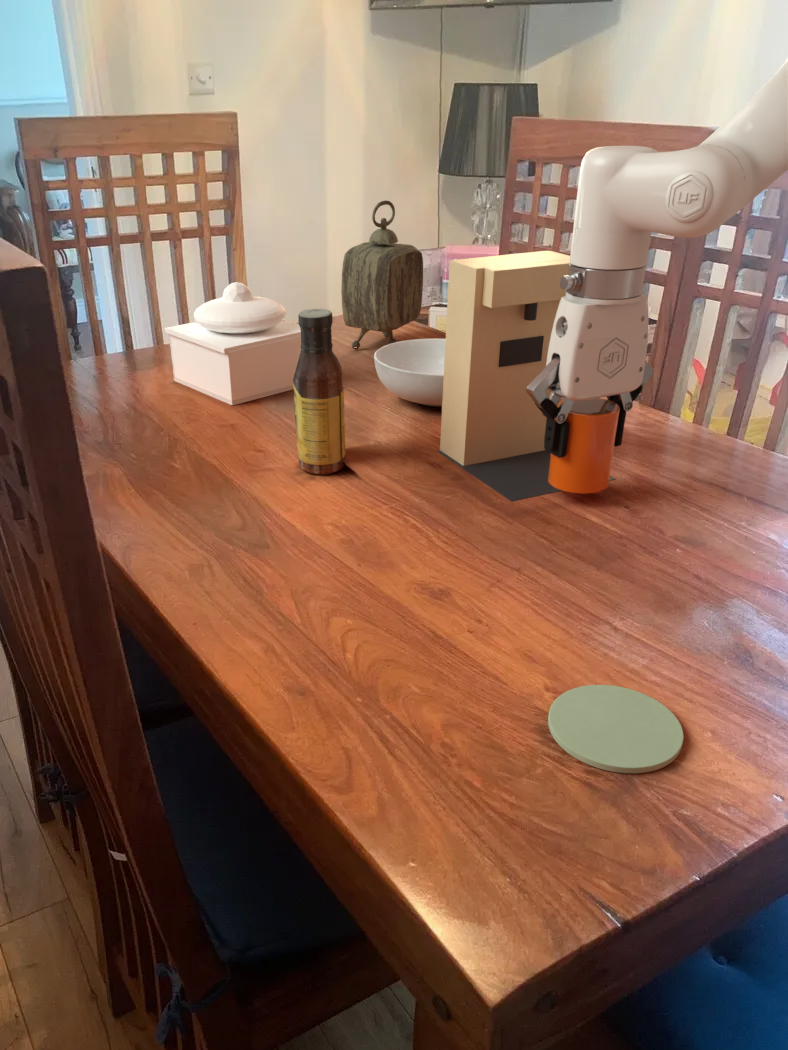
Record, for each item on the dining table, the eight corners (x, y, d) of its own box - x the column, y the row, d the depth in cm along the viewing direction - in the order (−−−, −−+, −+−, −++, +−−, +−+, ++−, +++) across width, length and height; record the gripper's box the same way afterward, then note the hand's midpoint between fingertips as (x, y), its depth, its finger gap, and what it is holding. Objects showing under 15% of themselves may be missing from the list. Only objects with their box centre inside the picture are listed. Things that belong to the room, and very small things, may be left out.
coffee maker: (435, 461, 114) (445, 260, 101) (531, 443, 119) (552, 250, 106) (510, 513, 100) (532, 288, 87) (614, 490, 105) (650, 274, 92)
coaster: (622, 678, 72) (623, 672, 72) (711, 750, 64) (713, 744, 64) (522, 709, 69) (523, 703, 69) (603, 789, 61) (604, 783, 61)
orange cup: (583, 466, 103) (593, 392, 99) (620, 487, 98) (633, 409, 93) (535, 476, 101) (543, 401, 96) (571, 498, 96) (582, 419, 91)
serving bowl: (495, 426, 125) (499, 379, 121) (357, 413, 130) (357, 368, 127) (516, 384, 141) (520, 342, 138) (393, 374, 147) (394, 333, 144)
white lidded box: (319, 382, 144) (316, 282, 135) (229, 406, 134) (220, 300, 126) (257, 360, 155) (252, 267, 147) (170, 381, 145) (159, 282, 137)
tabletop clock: (384, 334, 170) (386, 195, 157) (423, 340, 166) (429, 198, 153) (341, 350, 160) (340, 203, 147) (382, 358, 156) (385, 207, 143)
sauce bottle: (316, 455, 116) (312, 302, 106) (355, 465, 113) (354, 308, 103) (286, 471, 111) (279, 313, 101) (325, 481, 108) (322, 320, 98)
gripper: (556, 298, 82) (537, 472, 91) (697, 281, 88) (666, 446, 97) (512, 284, 88) (498, 449, 97) (647, 269, 94) (622, 426, 103)
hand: (582, 446), depth 97 cm, fingers closed on orange cup, 6 cm apart
